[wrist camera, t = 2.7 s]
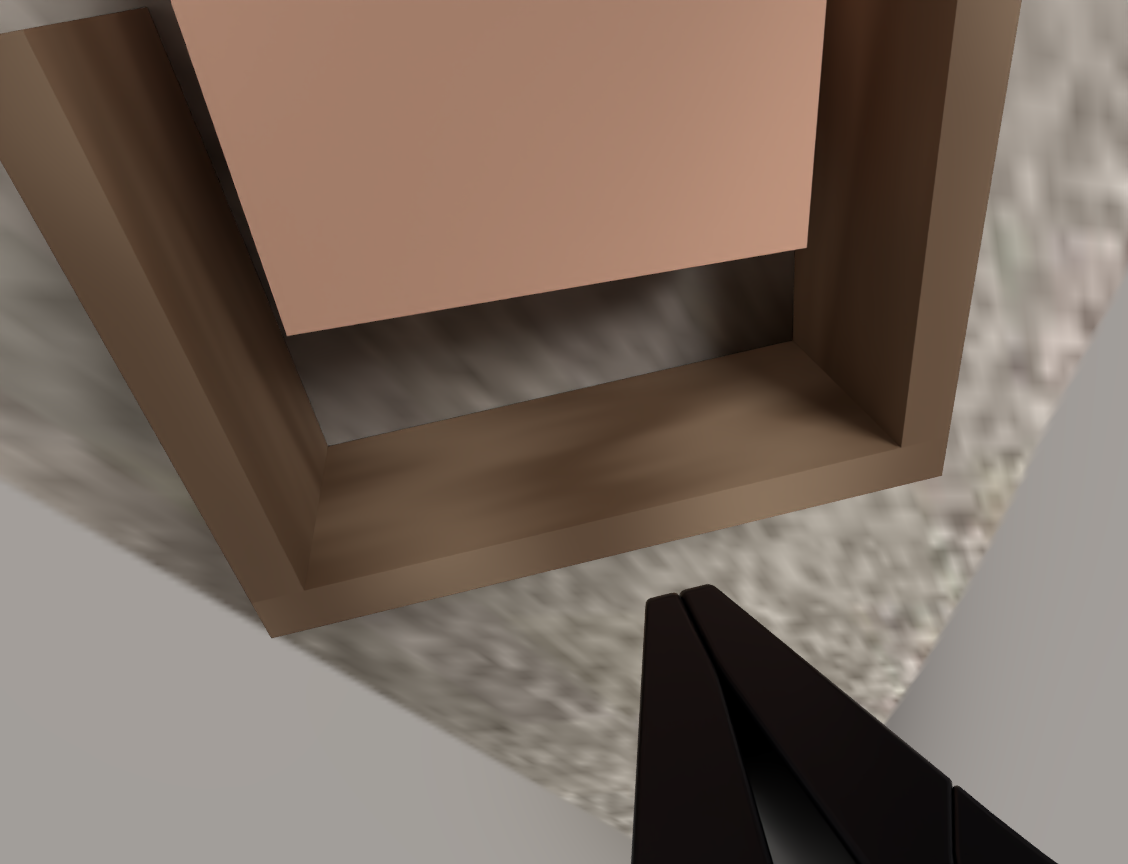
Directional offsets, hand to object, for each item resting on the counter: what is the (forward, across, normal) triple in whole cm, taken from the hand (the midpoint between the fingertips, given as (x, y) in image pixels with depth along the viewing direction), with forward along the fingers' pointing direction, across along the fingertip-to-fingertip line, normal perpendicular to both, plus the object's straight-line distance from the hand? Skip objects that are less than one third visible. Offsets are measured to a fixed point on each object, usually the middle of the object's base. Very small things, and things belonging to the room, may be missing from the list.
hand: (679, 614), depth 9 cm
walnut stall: (+10, 0, -2) cm, 10 cm away
